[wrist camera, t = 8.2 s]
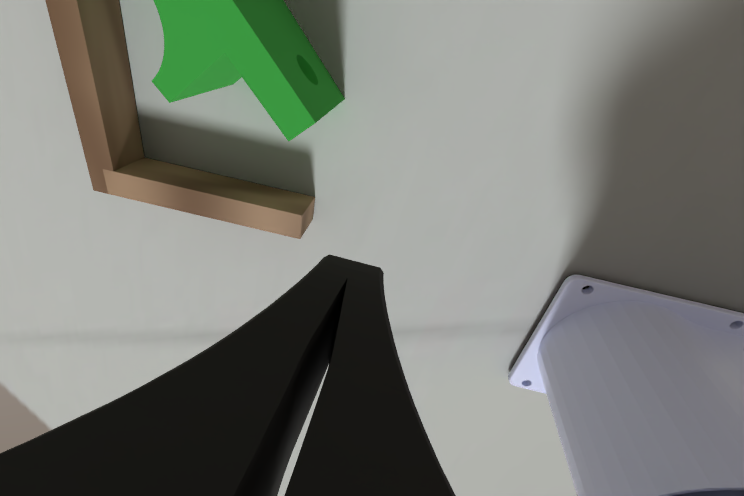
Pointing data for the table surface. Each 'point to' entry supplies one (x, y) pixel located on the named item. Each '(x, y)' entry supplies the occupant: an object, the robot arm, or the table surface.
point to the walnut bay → (123, 138)
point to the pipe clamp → (245, 58)
